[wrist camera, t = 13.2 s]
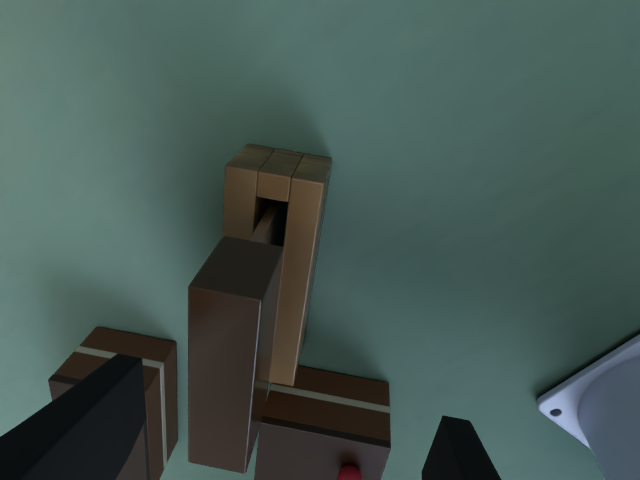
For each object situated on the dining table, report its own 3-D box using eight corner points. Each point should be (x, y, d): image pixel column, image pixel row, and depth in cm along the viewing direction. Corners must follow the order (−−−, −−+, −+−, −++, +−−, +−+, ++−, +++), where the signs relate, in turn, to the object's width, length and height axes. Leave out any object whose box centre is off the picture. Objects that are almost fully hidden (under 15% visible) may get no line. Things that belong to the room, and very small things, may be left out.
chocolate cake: (389, 382, 24) (391, 470, 19) (361, 477, 27) (358, 569, 23) (277, 361, 24) (253, 443, 19) (265, 457, 27) (243, 545, 23)
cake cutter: (309, 186, 19) (262, 300, 12) (291, 319, 22) (245, 475, 15) (263, 177, 19) (187, 286, 12) (252, 311, 22) (187, 463, 15)
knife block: (332, 157, 18) (324, 183, 16) (303, 343, 23) (293, 387, 20) (247, 143, 18) (224, 165, 16) (235, 330, 23) (216, 372, 20)
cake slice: (176, 341, 24) (129, 417, 19) (178, 440, 28) (138, 523, 23) (96, 325, 24) (31, 397, 20) (108, 425, 28) (56, 505, 23)
